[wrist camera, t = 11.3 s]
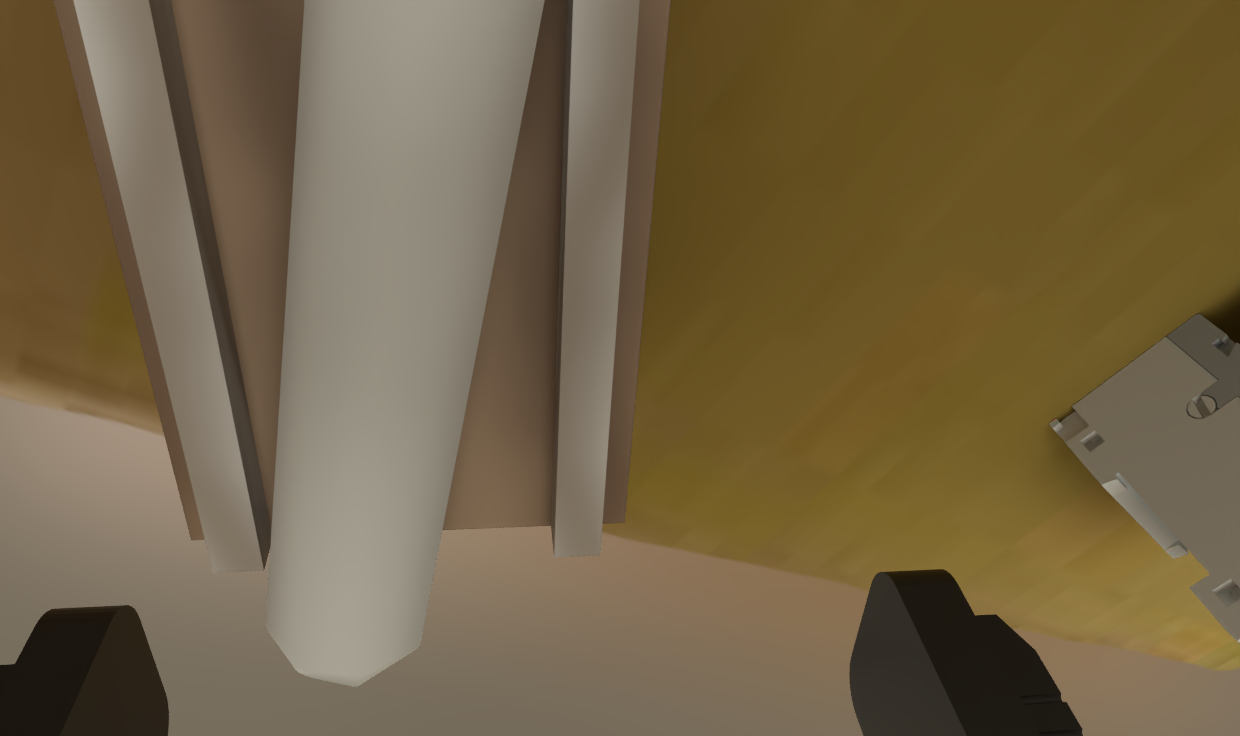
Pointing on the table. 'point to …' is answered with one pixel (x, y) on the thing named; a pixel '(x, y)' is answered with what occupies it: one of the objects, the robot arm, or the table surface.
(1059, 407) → the table surface
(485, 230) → the tube
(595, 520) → the stand
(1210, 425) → the circuit breaker
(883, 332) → the table surface
